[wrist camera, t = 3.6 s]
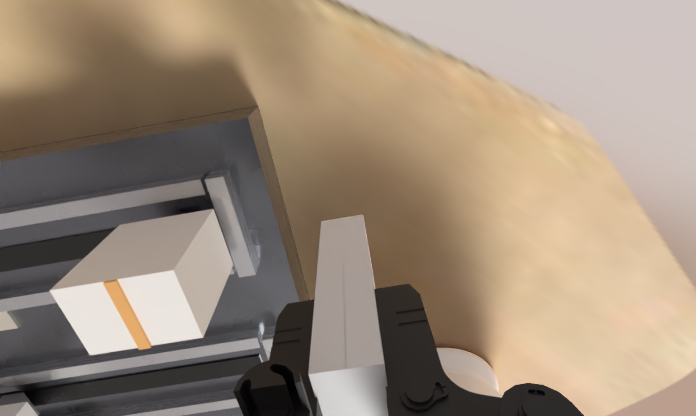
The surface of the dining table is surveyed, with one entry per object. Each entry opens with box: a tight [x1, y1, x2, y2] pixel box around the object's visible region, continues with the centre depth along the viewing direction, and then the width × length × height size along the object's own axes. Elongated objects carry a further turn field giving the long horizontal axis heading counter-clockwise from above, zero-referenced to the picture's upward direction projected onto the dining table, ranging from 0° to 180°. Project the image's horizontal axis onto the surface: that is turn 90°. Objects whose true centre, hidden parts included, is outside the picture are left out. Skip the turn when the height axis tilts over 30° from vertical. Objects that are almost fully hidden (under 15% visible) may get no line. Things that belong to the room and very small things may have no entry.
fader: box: [49, 209, 233, 355], centre depth 15 cm, size 4×3×6 cm
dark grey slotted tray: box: [0, 106, 309, 416], centre depth 21 cm, size 24×18×4 cm
